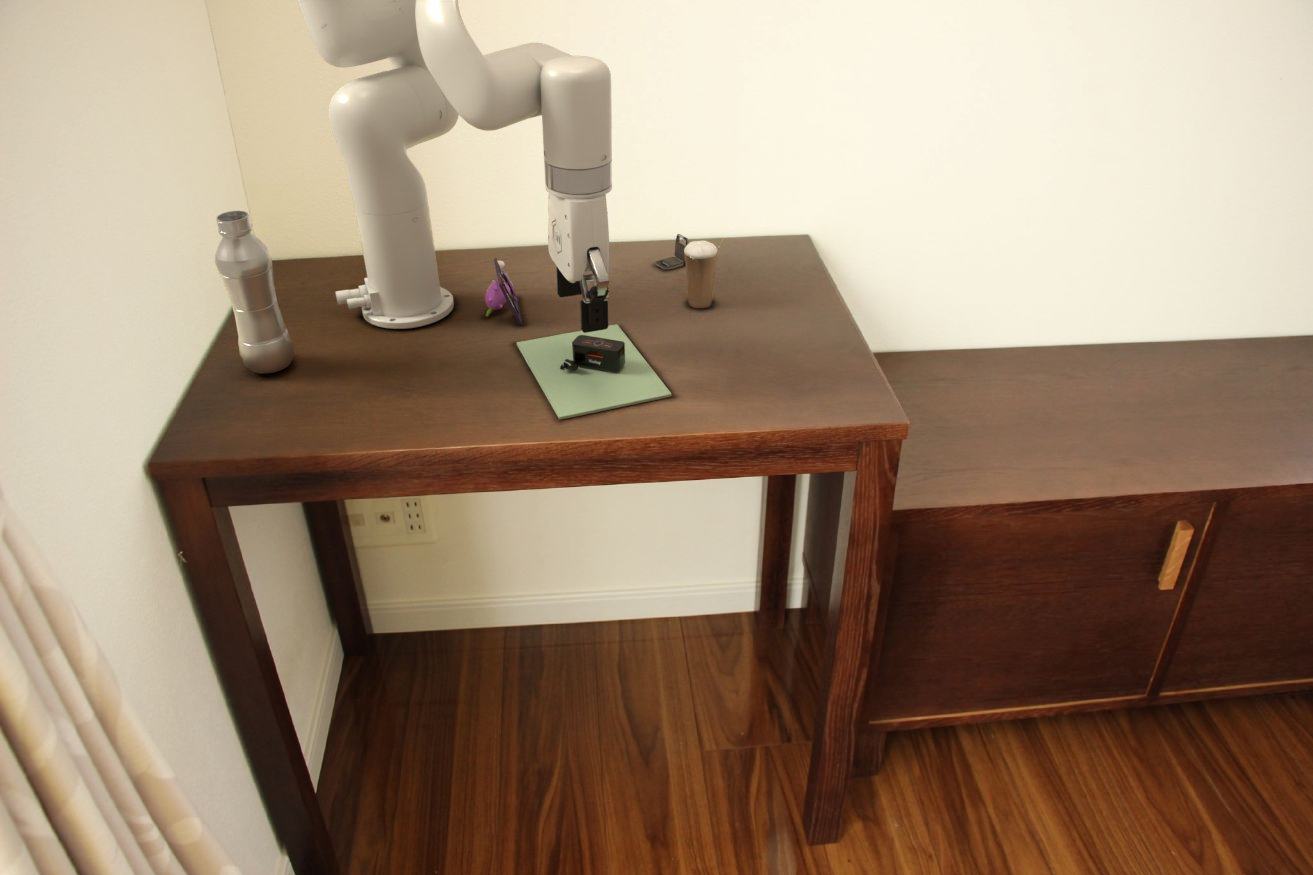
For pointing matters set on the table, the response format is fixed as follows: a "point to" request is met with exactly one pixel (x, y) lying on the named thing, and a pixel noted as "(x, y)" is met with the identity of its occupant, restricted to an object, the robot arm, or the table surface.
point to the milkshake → (700, 272)
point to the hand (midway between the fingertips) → (582, 312)
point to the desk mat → (590, 376)
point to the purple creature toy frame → (501, 293)
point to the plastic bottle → (252, 295)
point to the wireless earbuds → (596, 354)
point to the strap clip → (679, 254)
